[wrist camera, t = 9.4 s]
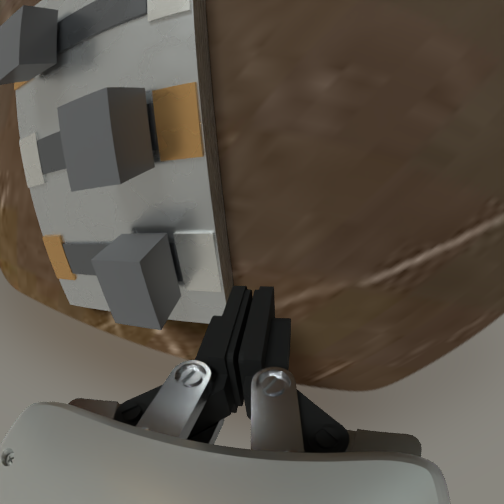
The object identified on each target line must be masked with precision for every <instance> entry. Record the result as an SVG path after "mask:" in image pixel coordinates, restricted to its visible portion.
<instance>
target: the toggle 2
mask: <svg viewBox="0 0 504 504" xmlns="http://www.w3.org/2000/svg"><path fill="white" fill-rule="evenodd" d="M57 110H58V119H59V127H60V135H61V141H62V147H63V153H64V159H65V164H66V169H67V174H68V179H69V184H70V188H71V192H73V191H79V190H85V189H92V188H98V187H105V186H112V185H119V184H122V183H124V182H126V181H128V180H130V179H132V178H134V177H136V176H138V175H140V174H142V173H144V172H146V171H148V170H150V169H152V168H154V167H155V165H154V158H153V151H152V144H151V137H150V129H149V121H148V113H147V103H146V93H145V88H134V87H106V88H103V89H101V90H98V91H95V92H93V93H90V94H88V95H85V96H83V97H80V98H78V99H75V100H73V101H71V102H69V103H66V104H64V105H62V106H60V107H58V108H57Z"/></svg>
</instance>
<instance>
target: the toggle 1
mask: <svg viewBox="0 0 504 504" xmlns="http://www.w3.org/2000/svg"><path fill="white" fill-rule="evenodd" d="M57 22H58V10H55V9H49V8H42V7H34V6H24V5H23V6H22V7H21V8H20V9H19V10H18V11H16V12H15V13H14V14H13V15H12V16H11V17H10V18H9V19H8V20H7V21H6V22H5V23H4V24H3V25H1V26H0V85H2V84H8V83H15V82H23V81H29V80H31V79H32V78H34V77H35V76H37V75H39V74H40V73H42V72H43V71H45V70H47V69H48V68H50V67H52V66H53V65H55V64H57Z"/></svg>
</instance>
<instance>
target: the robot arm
mask: <svg viewBox="0 0 504 504" xmlns="http://www.w3.org/2000/svg"><path fill="white" fill-rule="evenodd" d="M290 335H291V319H289V318H275V305H274V287H261V286H260V289H259V290H255V291H254V295H253V298H252V290H247V287H246V286H233V287H232V290H231V292H230V295H229V298H228V300H227V303H226V306H225V309H224V311H223V314H222V316H216V315H214V316H213V317H212V318H211V321H210V323H209V326H208V328H207V331H206V333H205V336H204V338H203V341H202V343H201V346H200V348H199V351H198V353H197V356H196V358H195V360H189V361H185V362H182V363H180V364H179V365H177V366H176V367H175V368H174V369H173V370H172V372H171V373H170V375H169V376H168V378H167V379H166V381H165V383H164V384H163V385H161V386H159V387H157V388H155V389H152V390H150V391H148V392H146V393H143V394H141V395H139V396H137V397H134V398H132V399H130V400H127V401H126V402H124V403H123V404H119V403H118V402H116V401H103V400H93V399H84V398H77V399H74V400H72V401H71V402H70V403H69V404H64V403H59V402H39V403H34V404H32V405H30V406H28V407H27V408H26V409H25V410H24V411H23V412H22V413H21V415H20V416H19V417H18V418H17V420H16V421H15V422H14V424H13V425H12V427H11V428H10V430H9V432H8V433H7V435H6V437H5V438H4V440H3V441H2V443H1V445H0V504H451V503H450V497H449V492H448V488H447V484H446V481H445V478H444V476H443V474H442V472H441V470H440V469H439V467H438V466H437V465H436V464H435V463H433V462H431V461H429V460H427V459H425V458H422V457H421V444H420V442H419V440H418V439H417V438H416V437H414V436H413V435H408V434H399V433H387V432H376V431H368V430H360V429H357V431H351V430H346V429H345V428H344V427H343V426H342V425H340V424H339V423H338V422H337V421H335V420H334V419H333V418H332V417H330V416H329V415H328V414H327V413H325V412H324V411H323V410H322V409H320V408H319V407H318V406H317V405H315V404H314V403H313V402H312V401H310V400H309V399H308V398H307V397H306V396H304V395H303V394H302V393H301V392H299V391H298V390H297V389H296V381H295V378H294V376H293V375H292V374H291V372H289V371H288V367H289V354H290ZM244 401H245V406H246V412H247V416H248V418H249V419H250V420H251V450H250V449H241V448H233V447H226V446H219V445H214V443H215V441H216V439H217V437H218V434H219V432H220V430H221V428H222V426H223V423H224V418H225V417H227V416H229V415H230V414H231V412H233V413H236V412H237V408H238V406H242V405H243V402H244Z"/></svg>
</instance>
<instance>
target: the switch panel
mask: <svg viewBox="0 0 504 504" xmlns="http://www.w3.org/2000/svg"><path fill="white" fill-rule="evenodd" d="M34 7H42V8H49V9H55V10H58V22H57V64H55V65H53V66H52V67H50V68H48V69H47V70H45V71H43V72H42V73H40V74H39V75H37V76H35V77H34V78H32V79H31V80H29V81H23V82H15V83H14V90H16V104H17V116H18V125H19V133H20V140H19V143H20V150H21V155H22V161H23V166H24V171H25V176H26V181H27V185H28V188H30V192H31V196H32V200H33V204H34V207H35V211H36V214H37V218H38V221H39V225H40V228H41V231H42V234H43V237H42V238H43V241H44V244H45V247H46V250H47V253H48V255H49V258H50V261H51V263H52V266H53V268H54V271H55V274H56V276H57V278H58V279H59V280H60V282H61V285H62V287H63V289H64V292H65V294H66V296H67V298H68V301H69V303H70V304H71V305H76V306H82V307H87V308H93V309H99V310H105V311H110V309H109V306H108V304H107V301H106V299H105V297H104V294H103V291H102V289H101V286H100V284H99V281H98V278H97V276H96V273H95V270H94V267H93V264H92V262H91V259H93V258H94V257H95V256H96V255H97V254H98V253H99V252H101V251H102V250H103V249H104V248H105V247H106V246H108V245H109V244H110V243H111V242H112V241H114V240H115V239H116V238H117V237H118V236H120V235H121V234H136V233H167V236H168V240H169V245H170V250H171V254H172V259H173V263H174V267H175V271H176V276H177V280H178V284H179V288H180V292H181V297H180V299H179V301H178V302H177V304H176V306H175V307H174V309H173V311H172V312H171V314H170V316H169V317H168V319H169V320H178V321H187V322H197V323H208V324H209V323H210V321H211V318H212V317H213V316H214V315H216V316H222V314H223V311H224V309H225V306H226V303H227V300H228V298H229V295H230V292H231V290H232V287H233V286H234V284H233V276H232V268H231V260H230V252H229V244H228V236H227V228H226V219H225V211H224V202H223V193H222V184H221V175H220V166H219V156H218V147H217V137H216V126H215V116H214V105H213V94H212V83H211V71H210V59H209V46H208V33H207V19H206V4H205V0H42V1H40V2H39V3H38V4H37V5H35V6H34ZM106 87H134V88H145V93H146V103H147V113H148V121H149V129H150V137H151V144H152V151H153V158H154V165H155V167H154V168H152V169H150V170H148V171H146V172H144V173H142V174H140V175H138V176H136V177H134V178H132V179H130V180H128V181H126V182H124V183H122V184H119V185H112V186H105V187H98V188H92V189H85V190H79V191H73V192H71V188H70V184H69V179H68V174H67V169H66V164H65V159H64V153H63V147H62V141H61V135H60V127H59V119H58V110H57V108H58V107H60V106H62V105H64V104H66V103H69V102H71V101H73V100H75V99H78V98H80V97H83V96H85V95H88V94H90V93H93V92H95V91H98V90H101V89H103V88H106Z"/></svg>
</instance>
